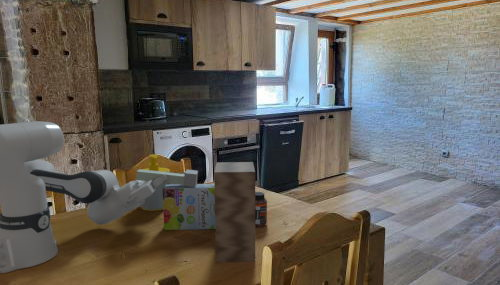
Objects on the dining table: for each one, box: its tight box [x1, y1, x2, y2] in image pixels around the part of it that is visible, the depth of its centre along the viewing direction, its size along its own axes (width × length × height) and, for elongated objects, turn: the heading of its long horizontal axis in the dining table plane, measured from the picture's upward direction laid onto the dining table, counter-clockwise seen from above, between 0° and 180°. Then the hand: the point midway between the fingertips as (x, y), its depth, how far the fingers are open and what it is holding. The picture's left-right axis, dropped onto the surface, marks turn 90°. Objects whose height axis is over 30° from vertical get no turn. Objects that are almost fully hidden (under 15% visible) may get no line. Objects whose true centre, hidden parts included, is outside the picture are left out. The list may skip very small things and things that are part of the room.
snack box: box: [162, 183, 215, 231], centre depth 124 cm, size 21×6×15 cm, turn 91°
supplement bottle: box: [255, 191, 268, 228], centre depth 127 cm, size 6×6×11 cm
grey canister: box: [140, 154, 171, 212], centre depth 145 cm, size 13×13×21 cm
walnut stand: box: [213, 161, 256, 263], centre depth 104 cm, size 11×12×26 cm
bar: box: [135, 168, 199, 187], centre depth 122 cm, size 20×5×4 cm, turn 93°
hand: (168, 174), depth 122 cm, fingers closed on bar, 3 cm apart
